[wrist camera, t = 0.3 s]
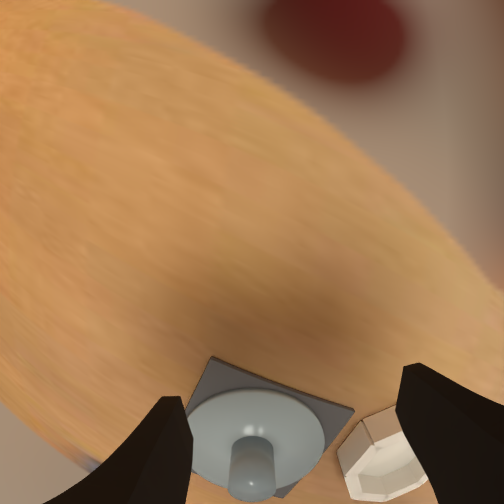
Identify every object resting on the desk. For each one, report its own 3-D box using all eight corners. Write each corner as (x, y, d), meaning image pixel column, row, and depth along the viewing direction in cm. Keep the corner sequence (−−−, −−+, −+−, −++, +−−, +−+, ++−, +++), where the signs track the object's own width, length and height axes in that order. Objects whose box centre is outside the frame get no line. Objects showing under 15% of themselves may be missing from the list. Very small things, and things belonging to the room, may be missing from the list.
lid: (281, 495, 21) (285, 536, 17) (165, 459, 21) (151, 500, 16) (349, 413, 20) (367, 456, 15) (213, 364, 20) (202, 406, 15)
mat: (282, 495, 22) (282, 498, 22) (161, 457, 21) (160, 460, 21) (353, 408, 21) (354, 411, 20) (211, 356, 20) (210, 358, 20)
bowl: (394, 482, 22) (403, 503, 19) (319, 470, 21) (325, 495, 18) (450, 414, 21) (466, 433, 18) (379, 393, 20) (393, 416, 17)
